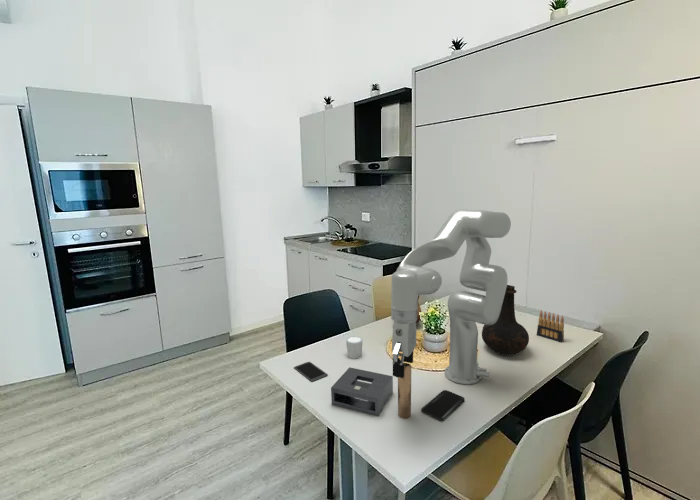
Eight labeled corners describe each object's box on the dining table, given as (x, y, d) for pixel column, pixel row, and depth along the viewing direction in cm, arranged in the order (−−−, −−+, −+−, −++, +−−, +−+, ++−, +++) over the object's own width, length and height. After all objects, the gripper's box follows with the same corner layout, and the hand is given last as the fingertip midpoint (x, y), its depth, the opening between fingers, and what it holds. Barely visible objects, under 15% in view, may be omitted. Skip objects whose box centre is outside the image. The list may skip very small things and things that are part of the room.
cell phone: (311, 383, 130) (311, 381, 130) (293, 368, 141) (293, 366, 141) (328, 376, 135) (328, 374, 135) (309, 362, 146) (309, 361, 145)
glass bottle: (478, 340, 161) (480, 279, 156) (521, 342, 158) (525, 280, 153) (484, 359, 144) (487, 291, 139) (533, 362, 141) (538, 292, 136)
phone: (466, 398, 117) (442, 420, 107) (465, 401, 117) (442, 423, 107) (444, 389, 123) (419, 409, 112) (444, 392, 123) (419, 412, 112)
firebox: (392, 392, 123) (392, 375, 122) (378, 416, 110) (378, 398, 109) (349, 382, 129) (349, 366, 128) (331, 404, 117) (331, 387, 116)
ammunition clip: (536, 335, 165) (538, 310, 163) (538, 334, 166) (540, 309, 164) (561, 342, 157) (563, 316, 154) (563, 341, 158) (565, 315, 156)
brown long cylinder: (412, 412, 112) (412, 364, 109) (409, 420, 108) (409, 370, 105) (398, 409, 114) (398, 361, 111) (394, 416, 110) (394, 367, 107)
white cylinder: (361, 359, 146) (361, 343, 145) (344, 358, 148) (344, 342, 146) (364, 352, 153) (363, 336, 151) (348, 351, 154) (347, 335, 153)
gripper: (408, 325, 96) (407, 385, 98) (424, 306, 111) (422, 359, 114) (381, 321, 99) (381, 380, 102) (400, 303, 114) (399, 354, 117)
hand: (403, 368), depth 108 cm, fingers open, 9 cm apart
